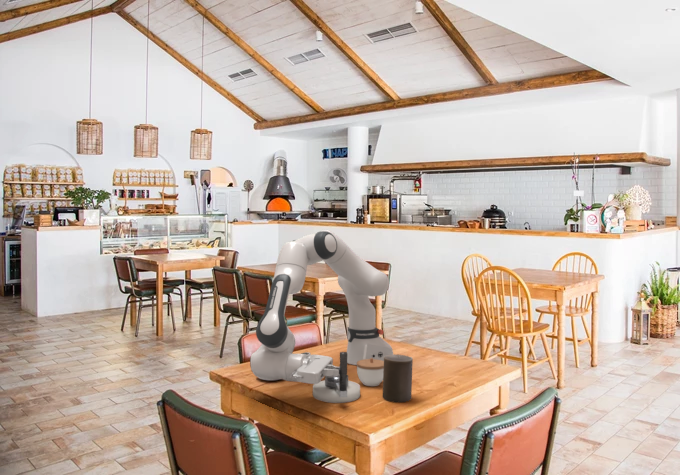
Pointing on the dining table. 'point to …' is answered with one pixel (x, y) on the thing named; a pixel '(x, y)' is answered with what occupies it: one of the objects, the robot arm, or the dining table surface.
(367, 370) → the lidded jar
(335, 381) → the saucepan with upright handle
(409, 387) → the pillar candle
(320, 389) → the light grey round disc
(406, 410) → the dining table surface
